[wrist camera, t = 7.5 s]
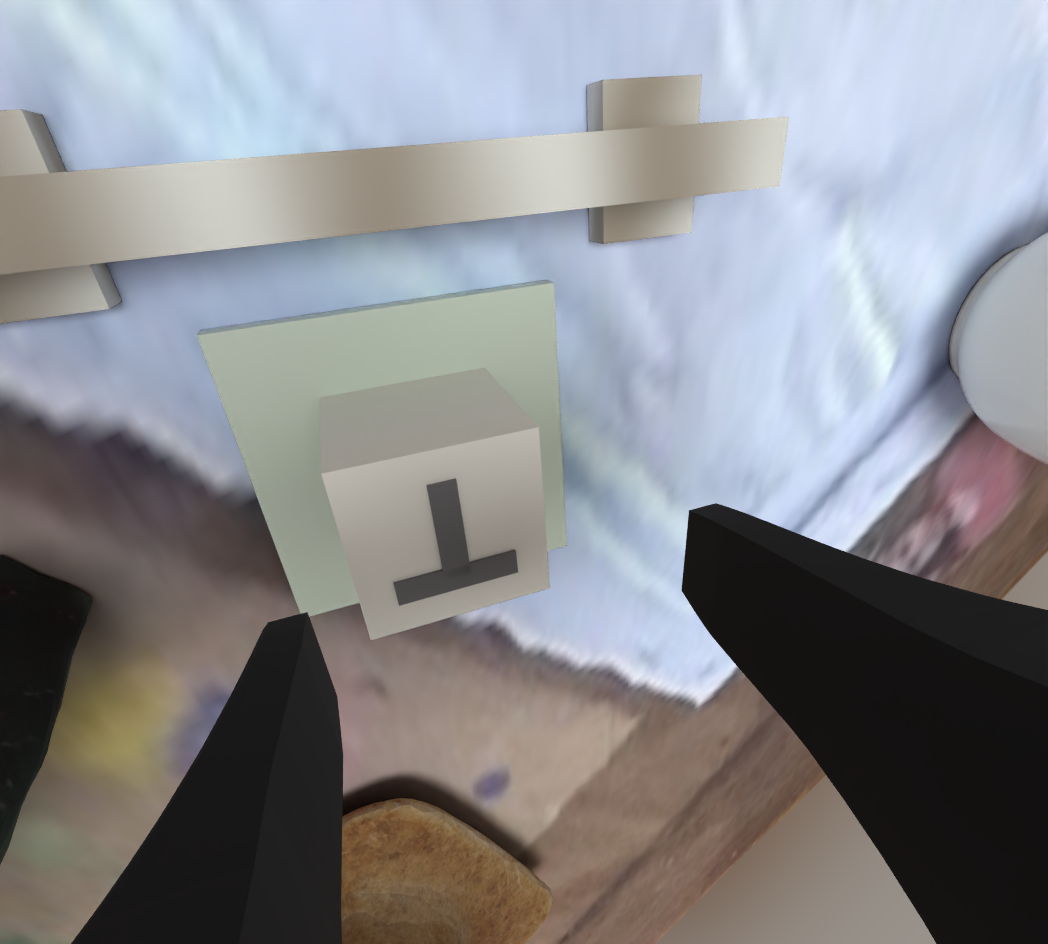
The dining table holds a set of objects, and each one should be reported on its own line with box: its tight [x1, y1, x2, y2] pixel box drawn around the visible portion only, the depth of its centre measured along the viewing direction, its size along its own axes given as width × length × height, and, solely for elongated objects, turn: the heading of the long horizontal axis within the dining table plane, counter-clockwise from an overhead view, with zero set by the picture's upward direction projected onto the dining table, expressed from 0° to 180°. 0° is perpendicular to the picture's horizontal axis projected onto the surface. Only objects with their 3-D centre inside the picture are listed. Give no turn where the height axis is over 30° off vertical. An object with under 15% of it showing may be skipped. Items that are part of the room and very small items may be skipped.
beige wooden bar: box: [0, 75, 789, 323], centre depth 13 cm, size 20×4×4 cm, turn 95°
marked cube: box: [319, 368, 550, 640], centre depth 16 cm, size 5×5×5 cm
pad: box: [197, 280, 567, 616], centre depth 18 cm, size 10×10×1 cm
